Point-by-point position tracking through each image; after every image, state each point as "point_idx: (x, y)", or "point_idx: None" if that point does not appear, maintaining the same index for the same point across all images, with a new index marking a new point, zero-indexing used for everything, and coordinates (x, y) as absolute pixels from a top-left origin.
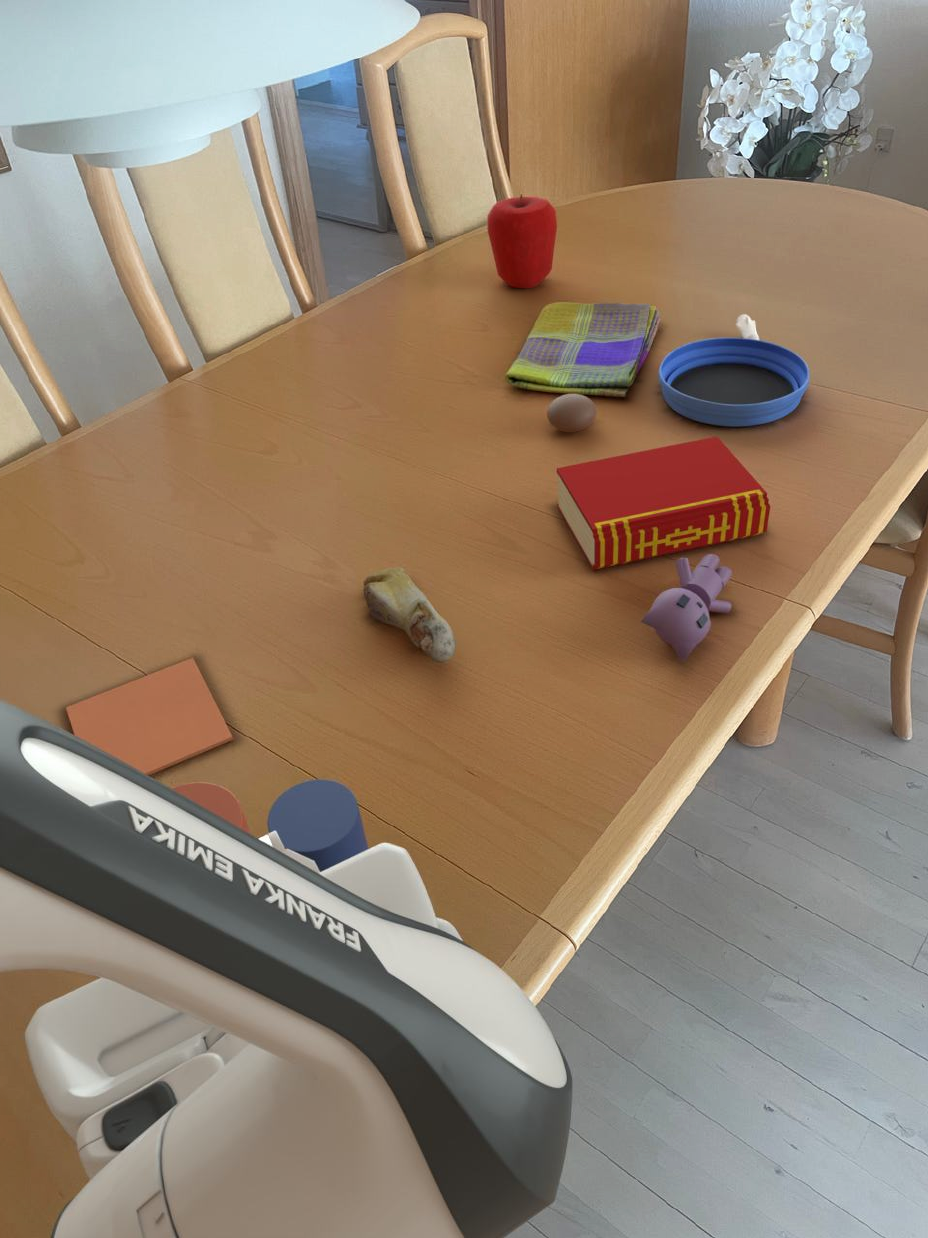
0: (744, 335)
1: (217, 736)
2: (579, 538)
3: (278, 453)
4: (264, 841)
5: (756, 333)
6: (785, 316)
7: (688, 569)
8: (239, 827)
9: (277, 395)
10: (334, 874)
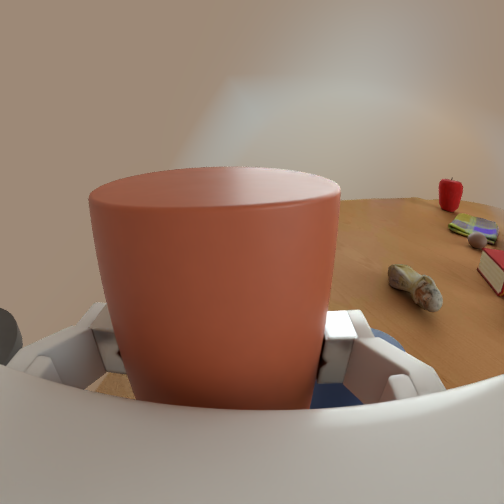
0: None
1: None
2: (491, 280)
3: (350, 224)
4: (339, 316)
5: None
6: None
7: None
8: (330, 193)
9: (353, 211)
10: (498, 394)
